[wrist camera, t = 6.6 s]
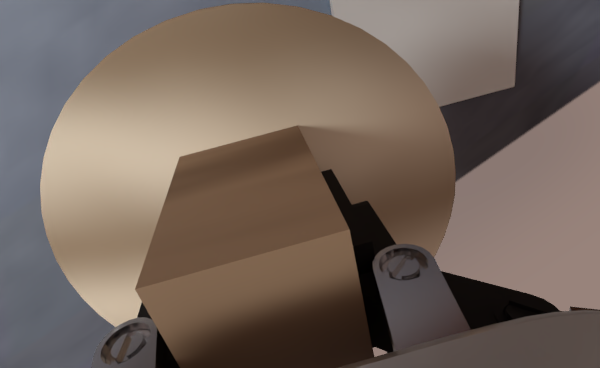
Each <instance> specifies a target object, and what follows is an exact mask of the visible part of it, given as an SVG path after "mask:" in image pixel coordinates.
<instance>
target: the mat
mask: <svg viewBox="0 0 600 368" xmlns="http://www.w3.org/2000/svg"><path fill="white" fill-rule="evenodd" d="M330 7H331V13H332V16H333V17H336V18H338V19H340V20H343V21H345V22H347V23H350V24H352V25H354V26H357V27H359V28H361V29H362V30H364V31H366V32H367V33H369V34H371V35H372V36H374V37H375V38H377V39H379V40H380V41H382V42H383V43H385V44H386V45H387V46H389V47H390V48H391V49H392V50H393V51H394V52H396V53H397V54H398V55H399V56H400V57H401V58H403V59H404V60H405V61H406V62H407V63H408V64H409V65H410V66H411V68H412V69H413V70H414V71H415V72H416V73H417V75H418V76H419V77H420V78H421V79H422V80H423V82H424V83H425V84H426V86H427V88H428V89H429V91H430V92H431V94H432V96H433V97H434V99H435V100H436V102H437V104H438V106H439V107H440V106H444V105H448V104H451V103H455V102H459V101H463V100H466V99H470V98H474V97H478V96H481V95H485V94H489V93H493V92H496V91H500V90H504V89H507V88H511V87H515V71H516V52H517V33H518V14H519V0H330Z"/></svg>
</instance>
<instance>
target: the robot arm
mask: <svg viewBox="0 0 600 368" xmlns="http://www.w3.org/2000/svg"><path fill="white" fill-rule="evenodd" d="M321 173H322V175H323V177H324V179H325V181H326V183H327V185H328V187H329V189H330V191H331V193H332V195H333V197H334V199H335V201H336V203H337V205H338V207H339V209H340V211H341V213H342V215H343V217H344V219H345V221H346V223H347V225H348V227H349V229H350V234H351V239H352V245H353V250H354V255H355V260H356V265H357V271H358V276H359V281H360V286H361V291H362V296H363V302H364V307H365V312H366V317H367V322H368V328H369V333H370V338H371V343H372V348H373V347H377V348H379V349H382V350H385V351H387V354H384V355H380V356H377V357H373V358H370V359H366V360H363V361H359V362H356V363H352V364H349V365H346V366H342V367H339V368H600V310H597V309H587V308H578V307H570V310H569V311H559V310H558V309H557V308H556V307H555V306H554V305H552V304H551V303H549V302H547V301H546V300H544V299H542V298H539V297H536V296H534V295H530V294H527V293H523V292H519V291H515V290H511V289H508V288H504V287H500V286H496V285H492V284H488V283H484V282H481V281H477V280H473V279H469V278H465V277H461V276H457V275H453V274H450V273H446V272H442V271H440V269H439V267H438V265H437V263H436V261H435V259H434V257H433V256H432V255H431V253H430V252H429V251H427V250H426V249H424V248H422V247H419V246H416V245H412V244H396V243H395V241H394V240H393V238H392V237H391V235H390V234H389V232H388V231H387V229H386V228H385V226H384V225H383V223H382V221H381V220H380V218H379V217H378V215H377V214H376V212H375V211H374V209H373V208H372V206H371V205H370V203H369V202H368V201H363V202H359V203H356V204H351V203H350V201H349V199H348V197H347V196H346V194H345V192H344V190H343V188H342V187H341V185H340V183H339V181H338V180H337V178H336V176H335V174H334V173H333V171H332V169H329V170H326V171H322V172H321ZM91 368H180V367H179V365H178V363H177V361H176V360H175V358H174V356H173V355H172V353H171V351H170V349H169V348H168V346H167V344H166V342H165V341H164V339H163V337H162V335H161V334H160V332H159V330H158V329H157V327H156V325H155V323H154V322H153V320H152V318H151V316H150V315H149V313H148V311H147V310H146V308H145V306H144V304H143V303H141V306H140V310H139V313H138V316H137V318H135V319H131V320H128V321H126V322H124V323H122V324H120V325H118V326H117V327H116V328H114V329H113V330H111V331H110V332H109V333H108V334H107V335H106V336H105V337H104V338H103V339H102V340H101V342H100V343H99V345H98V346H97V348H96V351H95V353H94V356H93V360H92V365H91Z"/></svg>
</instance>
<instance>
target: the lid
mask: <svg viewBox="0 0 600 368" xmlns="http://www.w3.org/2000/svg"><path fill="white" fill-rule="evenodd" d="M329 169H332V171H333V173H334V174H335V176H336V178H337V180H338V181H339V183H340V185H341V187H342V188H343V190H344V192H345V194H346V196H347V197H348V199H349V201H350V203H351V204H356V203H359V202H363V201H368V202H369V203H370V205H371V206H372V208H373V209H374V211H375V212H376V214H377V215H378V217H379V218H380V220H381V221H382V223H383V225H384V226H385V228H386V229H387V231H388V232H389V234H390V235H391V237H392V238H393V240H394V241H395V243H396V244H412V245H416V246H419V247H422V248H424V249H426V250H427V251H429V252H430V253H431V255H432V256H433V257H434V256H435V255H436V253H437V251H438V249H439V246H440V244H441V242H442V240H443V238H444V236H445V232H446V229H447V226H448V223H449V219H450V217H451V212H452V207H453V201H454V196H455V176H456V171H455V161H454V151H453V146H452V143H451V139H450V135H449V131H448V127H447V125H446V122H445V120H444V117H443V115H442V113H441V110H440V108H439V106H438V104H437V102H436V100H435V99H434V97H433V96H432V94H431V92H430V91H429V89H428V88H427V86H426V84H425V83H424V82H423V80H422V79H421V78H420V77H419V76H418V75H417V73H416V72H415V71H414V70H413V69H412V68H411V66H410V65H409V64H408V63H407V62H406V61H405V60H404V59H403V58H401V57H400V56H399V55H398V54H397V53H396V52H394V51H393V50H392V49H391V48H390V47H389V46H387V45H386V44H385V43H383V42H382V41H380V40H379V39H377V38H375V37H374V36H372V35H371V34H369V33H367V32H366V31H364V30H362V29H361V28H359V27H357V26H354V25H352V24H350V23H347V22H345V21H343V20H340V19H338V18H336V17H333V16H331V15H327V14H324V13H320V12H316V11H312V10H309V9H305V8H301V7H296V6H287V5H279V4H270V3H239V4H227V5H222V6H216V7H210V8H205V9H199V10H196V11H193V12H190V13H187V14H184V15H181V16H178V17H175V18H172V19H169V20H166V21H164V22H162V23H160V24H158V25H156V26H154V27H152V28H150V29H148V30H146V31H144V32H142V33H140V34H138V35H136V36H134V37H133V38H131V39H130V40H128V41H127V42H126V43H124V44H123V45H121V46H120V47H119V48H117V49H116V50H114V51H113V52H112V53H110V54H109V55H107V56H106V57H105V58H104V59H103V60H102V61H101V62H100V63H99V64H98V65H97V66H96V67H95V68H94V69H93V70H92V71H91V72H90V73H89V74H88V75H87V76H86V77H85V78H84V79H83V80H82V81H81V83H80V84H79V86H78V87H77V88H76V90H75V91H74V92H73V94H72V95H71V97H70V98H69V99H68V101H67V102H66V103H65V105H64V107H63V109H62V111H61V113H60V115H59V117H58V119H57V121H56V123H55V125H54V127H53V129H52V131H51V135H50V138H49V141H48V145H47V148H46V151H45V155H44V158H43V166H42V175H41V183H40V191H41V211H42V216H43V220H44V225H45V230H46V234H47V238H48V240H49V243H50V245H51V248H52V250H53V253H54V255H55V258H56V260H57V262H58V264H59V265H60V267H61V269H62V270H63V272H64V274H65V276H66V277H67V279H68V281H69V282H70V283H71V284H72V286H73V287H74V288H75V289H76V291H77V292H78V293H79V295H80V296H81V297H82V298H83V299H84V300H85V301H86V302H87V303H88V304H89V305H90V306H91V307H92V308H93V309H94V310H95V311H96V312H97V313H98V314H99V315H100V316H102V317H103V318H104V319H106V320H107V321H108V322H110V323H111V324H112V325H114V326H115V327H117V326H118V325H120V324H122V323H124V322H126V321H128V320H131V319H135V318H137V316H138V313H139V310H140V306H141V303H143V304H144V306H145V308H146V310H147V311H148V313H149V315H150V316H151V318H152V320H153V322H154V323H155V325H156V327H157V329H158V330H159V332H160V334H161V335H162V337H163V339H164V341H165V342H166V344H167V346H168V348H169V349H170V351H171V353H172V355H173V356H174V358H175V360H176V361H177V363H178V365H179V367H180V368H339V367H342V366H346V365H349V364H352V363H356V362H359V361H363V360H366V359H370V358H373V357H374V354H373V349H372V343H371V338H370V333H369V328H368V322H367V317H366V312H365V307H364V302H363V296H362V291H361V286H360V281H359V276H358V271H357V265H356V260H355V255H354V250H353V245H352V239H351V234H350V229H349V227H348V225H347V223H346V221H345V219H344V217H343V215H342V213H341V211H340V209H339V207H338V205H337V203H336V201H335V199H334V197H333V195H332V193H331V191H330V189H329V187H328V185H327V183H326V181H325V179H324V177H323V175H322V173H321V172H322V171H326V170H329Z"/></svg>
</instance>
